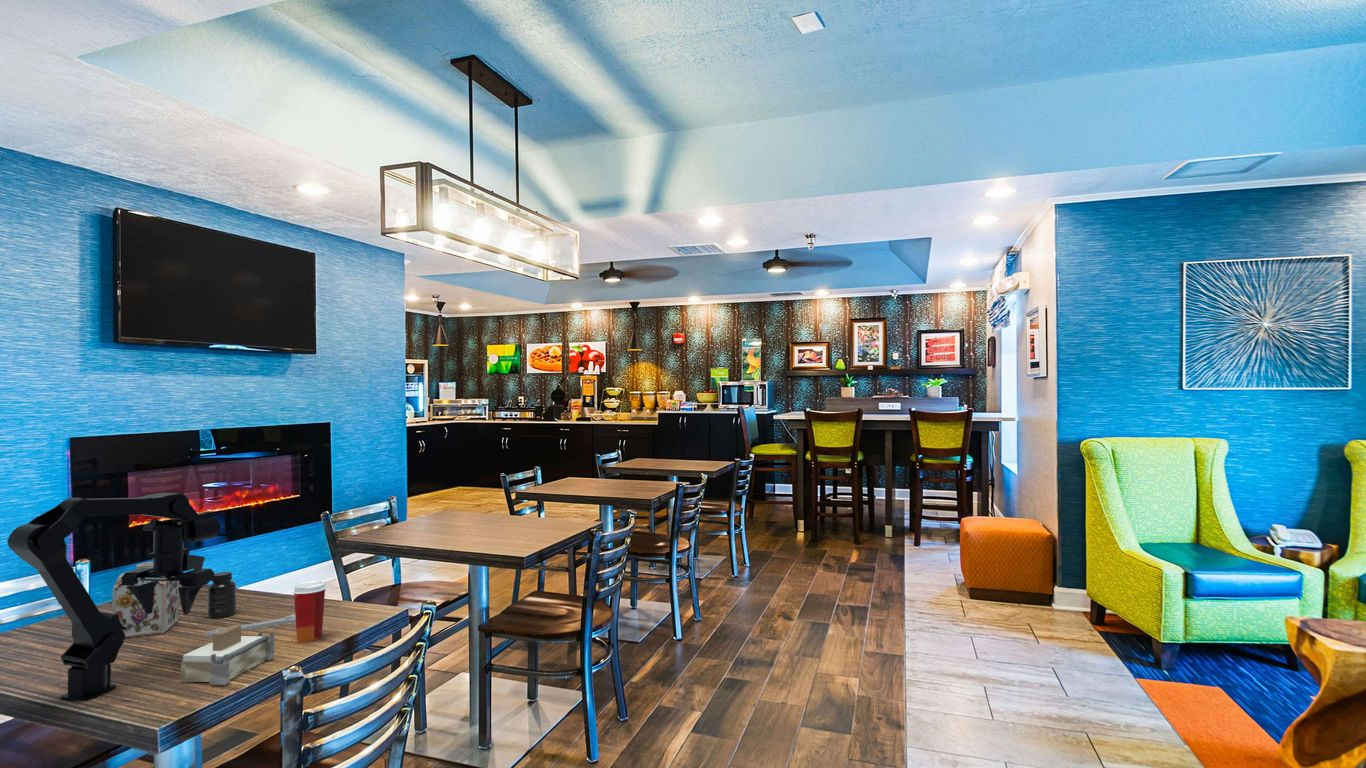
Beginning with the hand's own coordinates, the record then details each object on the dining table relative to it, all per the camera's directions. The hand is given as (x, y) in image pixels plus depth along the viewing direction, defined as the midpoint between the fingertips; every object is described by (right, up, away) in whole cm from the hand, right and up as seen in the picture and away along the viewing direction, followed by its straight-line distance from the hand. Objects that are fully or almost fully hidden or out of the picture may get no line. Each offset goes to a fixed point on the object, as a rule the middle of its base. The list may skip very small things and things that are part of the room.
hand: (168, 613), depth 155 cm
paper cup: (+24, -13, +17) cm, 31 cm away
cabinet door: (+16, -7, -3) cm, 18 cm away
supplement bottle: (-13, -13, +37) cm, 41 cm away
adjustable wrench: (+5, -13, +27) cm, 31 cm away
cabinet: (+16, -12, -4) cm, 20 cm away
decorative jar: (-25, -13, +25) cm, 38 cm away
